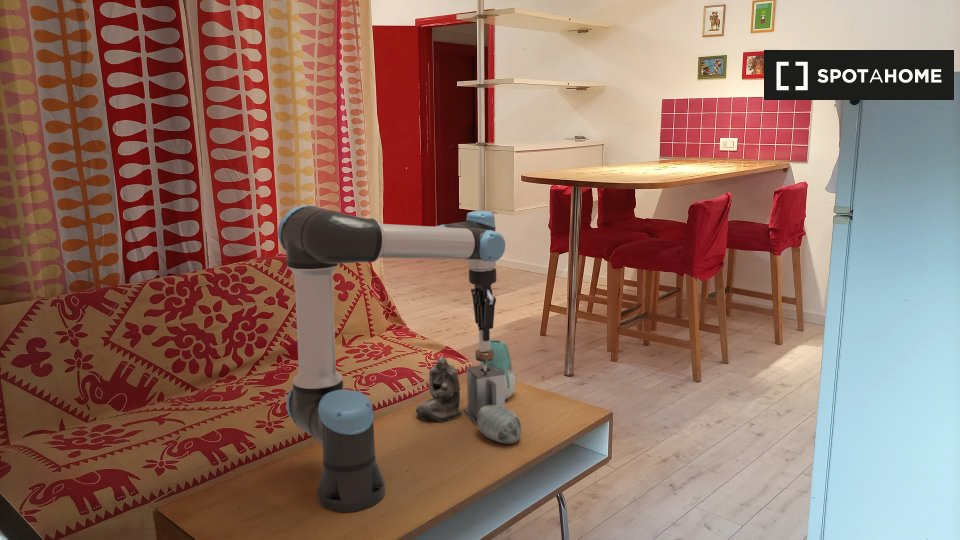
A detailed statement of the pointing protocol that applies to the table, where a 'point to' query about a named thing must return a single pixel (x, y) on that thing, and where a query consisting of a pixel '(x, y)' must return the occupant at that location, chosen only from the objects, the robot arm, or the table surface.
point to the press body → (484, 389)
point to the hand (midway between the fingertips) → (484, 350)
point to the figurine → (441, 394)
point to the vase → (503, 365)
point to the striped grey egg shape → (499, 424)
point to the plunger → (484, 357)
